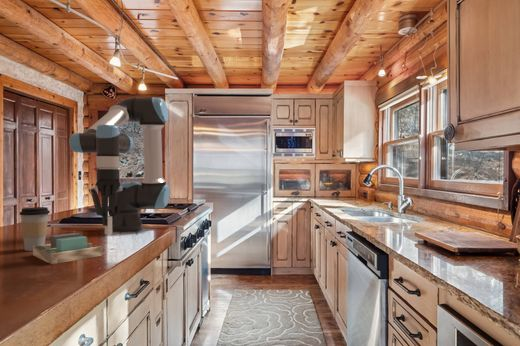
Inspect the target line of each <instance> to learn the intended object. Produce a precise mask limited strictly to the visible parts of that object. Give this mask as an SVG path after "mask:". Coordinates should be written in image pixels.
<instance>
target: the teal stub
mask: <svg viewBox="0 0 520 346" xmlns="http://www.w3.org/2000/svg"><path fill="white" fill-rule="evenodd" d="M87 243H88V237H87V236H85V235H80V236H76V237H68V238H61V239H56V253H59V252H65V251H72V250H78V249H85V248H87Z"/></svg>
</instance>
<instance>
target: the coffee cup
mask: <svg viewBox="0 0 520 346" xmlns="http://www.w3.org/2000/svg"><path fill="white" fill-rule="evenodd" d="M50 213H51V211H50V210H49V208H48V207H45V206H35V207H22V208H21V211H19V214H18V215H20V223H21V234H22V239H23V245H24V251H26V252H33V246H40V245H46V243H45V242H46V236H47V232H48V223H49V222H48V221H49V219H48V218H49V214H50Z"/></svg>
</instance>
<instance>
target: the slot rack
mask: <svg viewBox="0 0 520 346" xmlns="http://www.w3.org/2000/svg"><path fill="white" fill-rule="evenodd" d="M103 249H104V248H103V246H102V245H99V246H94V247H93V243H92V242H87V248H85V249H78V250H72V251H65V252H59V253H56V248H51V243H50V244H49V243H48V244H45V245H40V246H33V251H32V256H34V257H36V258H38V259H39V260H42V261H44V262H46V263H48V264H50V265H56V264H57V265H58V264H61V263H66V262H67V263H68V262H74V261H79V260H84V259H91V258H96V257H97V258H98V257H102V256H103V253H104V252H103Z"/></svg>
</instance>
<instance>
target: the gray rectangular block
mask: <svg viewBox="0 0 520 346" xmlns="http://www.w3.org/2000/svg"><path fill="white" fill-rule="evenodd" d="M76 236H81V233H77V232H71V233H61V234H54V235H50V244H51V248H56V239H61V238H68V237H76Z"/></svg>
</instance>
